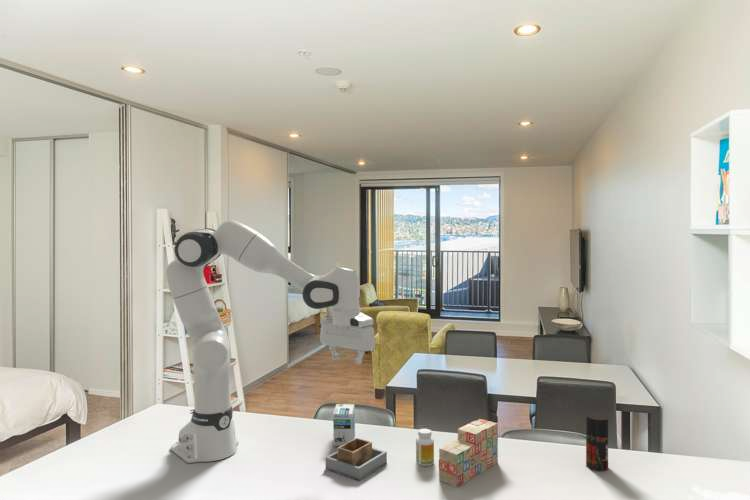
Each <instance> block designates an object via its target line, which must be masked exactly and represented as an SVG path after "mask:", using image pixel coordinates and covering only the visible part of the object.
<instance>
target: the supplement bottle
mask: <svg viewBox="0 0 750 500" xmlns="http://www.w3.org/2000/svg"><path fill="white" fill-rule="evenodd" d="M432 433H433V432H432V430H431V429H428V428H420V429H418V432H417V435H418V436H417V438H416V439H415V454H416V455H415V462H416V464H417V465H419V466H422V467H430V466H432V465H434V464H435V463H434V462H435V442H434V441H435V439H434V438H433V437H432V435H433V434H432Z"/></svg>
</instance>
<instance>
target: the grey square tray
mask: <svg viewBox="0 0 750 500" xmlns="http://www.w3.org/2000/svg"><path fill="white" fill-rule="evenodd" d="M387 453H388V452H387V451H384V450H382V449H378V448H374V447H372V459H371V460H369V461H367V462H366V463H364V464H362V465H361V466H359V467H357V466H354V465H351V464H348V463H346V462H343V461H340V460H338V452H337V451H334V452H333V453H331V454H329V455H327V456H325V458H324V459H325V470H327V471H330V472H333V473H336V474H338V475H341V476H343V477H347V478H350V479H353V480H355V481H358V482H360V481H362V480H364V479H365V478H366V477H368V476H369V475H371V474H372V473H374V472H376V471H377V470H379V469H380V468H382V467H383V466H385V465H387V462H388V458H387V457H388V454H387Z"/></svg>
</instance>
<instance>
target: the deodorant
mask: <svg viewBox="0 0 750 500" xmlns="http://www.w3.org/2000/svg"><path fill="white" fill-rule="evenodd" d="M585 431H586V432H585V445H586V446H585V452H586V453H585V463H586V464H585V467H587V468H588V469H589V470H592V471H594V472H606V471H608V470H609V417H608V416H607V415H606V414H602V413H598V412H590V413H589V412H588V413H586V415H585Z"/></svg>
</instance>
